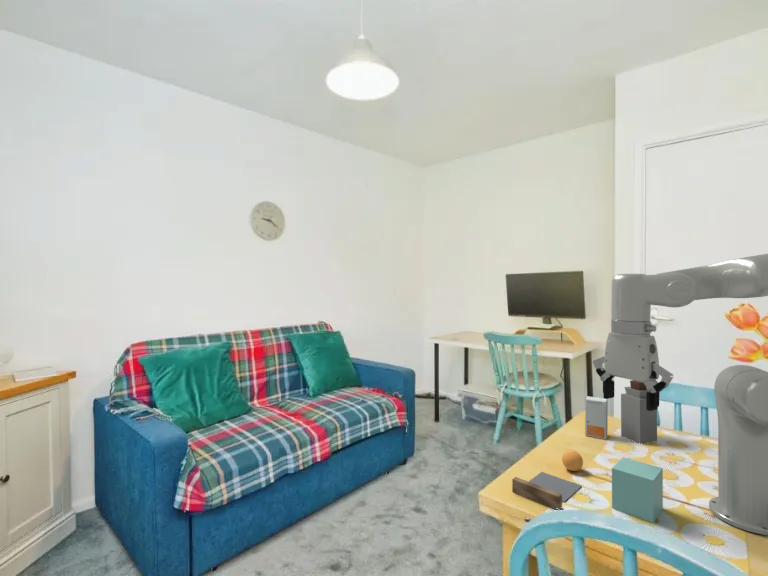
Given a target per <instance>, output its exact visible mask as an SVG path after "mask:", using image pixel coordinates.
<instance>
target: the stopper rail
mask: <svg viewBox="0 0 768 576" xmlns="http://www.w3.org/2000/svg"><path fill="white" fill-rule="evenodd" d="M511 481H512V483H511V486H512V488H511V489H512V492H513V493H514V494H516V495H520V496H523V497H525V498H527V499H530V500H531V501H534V502H537V503H539V504H542V505H544V506H546V507H549V508H551V507H554V508H558V509H560V510H561V509H562V508H563V502H562V494H560V493H557V492H555V491H552V490H549V489H547V488H544V487H541V486H539V485H536V484H533V483H531V482H528V481H529V480H525V479H523V478H519V477H517V476H515V477H513V478H512V480H511ZM561 507H562V508H561ZM554 508H553V509H554Z"/></svg>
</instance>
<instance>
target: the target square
mask: <svg viewBox="0 0 768 576" xmlns="http://www.w3.org/2000/svg"><path fill="white" fill-rule="evenodd" d="M527 481H528V482H531V483H533V484H536V485H539V486H541V487H544V488H547V489H549V490H552V491H555V492H557V493H560V494H562V501H563V502H562V503H565V501H566V500H567V499H568V498H569V499H570V498H571V497H572V496H573V495H574V494H576V493H577V490H578V489H579V488H580V489H582V487H581V486H582V485H581V484H579V483H575V482H573V481H571V480H567V479H564V478H561V477H558V476H555V475H552V474H550V473H547V472H543V471H541V472H539V473H538V474H537V475H535V476H534V477H532V478H531V479H530V480H527ZM580 489H579V490H580ZM579 490H578V491H579ZM569 499H568V500H569ZM568 500H567V501H568ZM567 501H566V502H567Z"/></svg>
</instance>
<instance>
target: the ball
mask: <svg viewBox="0 0 768 576" xmlns="http://www.w3.org/2000/svg"><path fill="white" fill-rule="evenodd" d="M561 461H562V464H563V465H564V468H566V469H567V470H569V471H571V472H576V471H580V470H581V469H582V468H583V465H584V460H583V458H582V456H581V454H580V453H579V452H577V451H575V450H572V449H571V450H570V449H569V450H566V451H564V453H563V454H562V456H561Z"/></svg>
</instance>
